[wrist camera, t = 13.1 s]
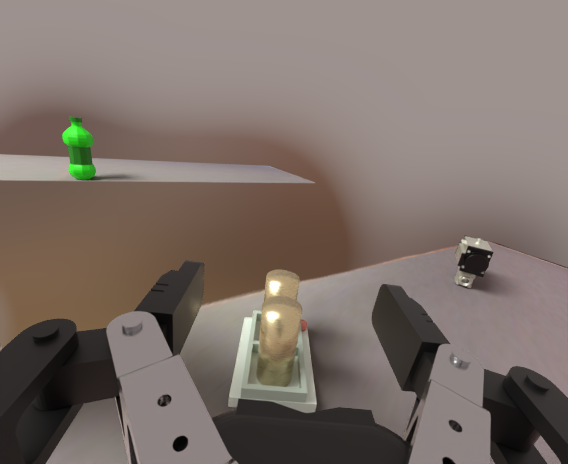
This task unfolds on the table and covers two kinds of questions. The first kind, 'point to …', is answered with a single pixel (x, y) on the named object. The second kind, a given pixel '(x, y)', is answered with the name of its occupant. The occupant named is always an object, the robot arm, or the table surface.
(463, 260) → the pneumatic valve
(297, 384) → the pale green divided tray
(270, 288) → the seated billet
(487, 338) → the table surface
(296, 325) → the billet
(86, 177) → the plastic bottle
